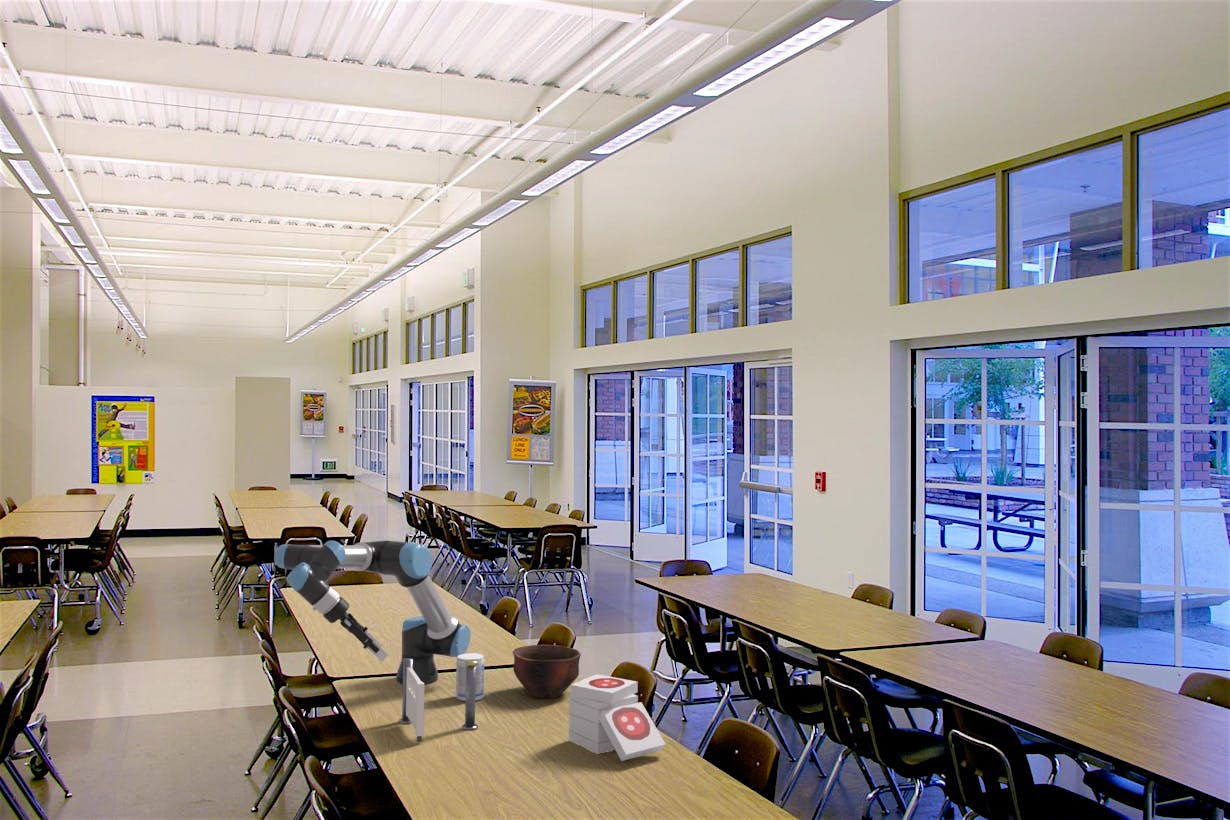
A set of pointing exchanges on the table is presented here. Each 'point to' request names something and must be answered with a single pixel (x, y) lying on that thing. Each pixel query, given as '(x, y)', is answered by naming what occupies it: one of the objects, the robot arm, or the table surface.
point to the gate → (415, 702)
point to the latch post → (470, 695)
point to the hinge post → (406, 664)
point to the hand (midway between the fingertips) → (382, 653)
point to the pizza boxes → (611, 718)
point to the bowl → (546, 669)
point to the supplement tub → (462, 676)
